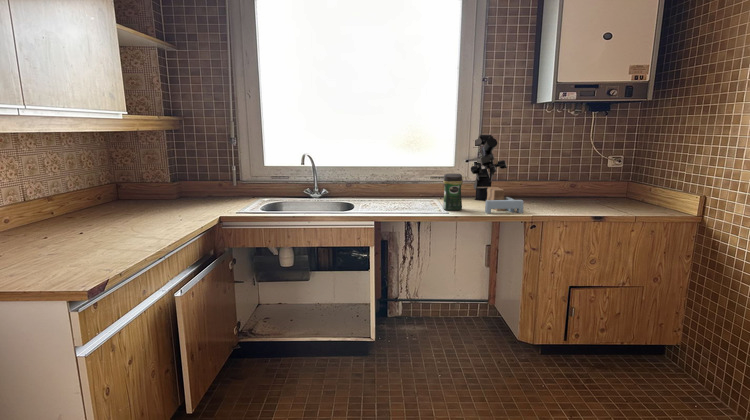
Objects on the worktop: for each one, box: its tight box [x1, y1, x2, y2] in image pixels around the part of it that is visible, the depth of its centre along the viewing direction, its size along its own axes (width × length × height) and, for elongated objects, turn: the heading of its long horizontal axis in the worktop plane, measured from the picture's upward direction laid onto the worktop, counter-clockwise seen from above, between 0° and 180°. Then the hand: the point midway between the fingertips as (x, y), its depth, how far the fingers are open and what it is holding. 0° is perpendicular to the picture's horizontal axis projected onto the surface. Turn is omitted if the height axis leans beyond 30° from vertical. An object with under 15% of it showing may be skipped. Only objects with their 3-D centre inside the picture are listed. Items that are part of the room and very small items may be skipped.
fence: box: [484, 196, 525, 214], centre depth 221 cm, size 12×18×6 cm, turn 93°
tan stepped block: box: [487, 186, 506, 212], centre depth 228 cm, size 16×5×10 cm, turn 3°
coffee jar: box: [442, 173, 463, 212], centre depth 224 cm, size 10×8×19 cm
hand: (490, 181), depth 238 cm, fingers closed
